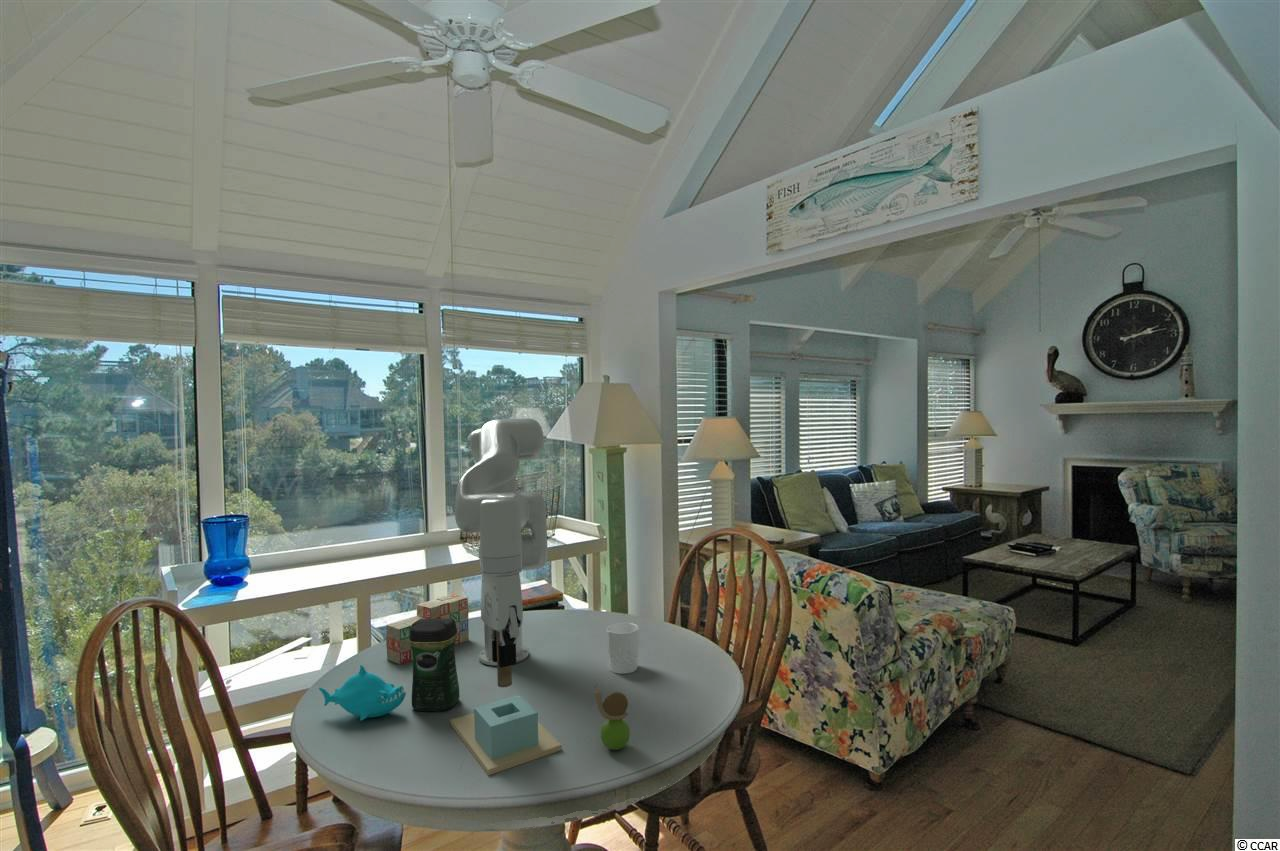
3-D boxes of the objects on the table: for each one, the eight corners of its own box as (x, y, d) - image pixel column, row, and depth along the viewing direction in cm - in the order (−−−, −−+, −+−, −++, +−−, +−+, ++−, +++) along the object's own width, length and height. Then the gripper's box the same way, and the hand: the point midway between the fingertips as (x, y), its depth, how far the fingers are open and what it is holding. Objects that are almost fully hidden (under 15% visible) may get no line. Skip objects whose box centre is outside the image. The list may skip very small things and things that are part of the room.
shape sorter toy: (450, 724, 126) (449, 690, 125) (516, 705, 133) (515, 673, 133) (488, 775, 107) (487, 735, 107) (561, 749, 115) (560, 712, 115)
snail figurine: (595, 741, 118) (593, 678, 117) (629, 739, 118) (627, 676, 118) (595, 757, 112) (593, 691, 112) (631, 754, 113) (629, 689, 112)
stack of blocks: (400, 665, 157) (398, 617, 157) (386, 660, 161) (385, 612, 161) (469, 640, 174) (468, 596, 174) (455, 635, 178) (454, 593, 178)
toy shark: (396, 726, 126) (395, 673, 125) (307, 728, 125) (305, 675, 125) (414, 704, 135) (412, 654, 135) (331, 706, 135) (329, 657, 135)
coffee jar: (464, 696, 138) (461, 613, 138) (450, 713, 130) (447, 625, 130) (422, 696, 139) (420, 613, 139) (405, 712, 131) (403, 625, 131)
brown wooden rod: (495, 683, 116) (493, 608, 116) (509, 680, 118) (507, 606, 118) (500, 688, 114) (498, 612, 114) (514, 685, 115) (512, 609, 115)
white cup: (641, 662, 155) (640, 622, 155) (638, 675, 147) (637, 633, 147) (610, 662, 156) (609, 622, 156) (605, 675, 148) (604, 633, 148)
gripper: (467, 560, 120) (470, 655, 120) (497, 575, 107) (500, 682, 107) (504, 554, 125) (507, 646, 124) (538, 568, 111) (540, 671, 111)
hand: (504, 662), depth 116 cm, fingers closed on brown wooden rod, 2 cm apart
